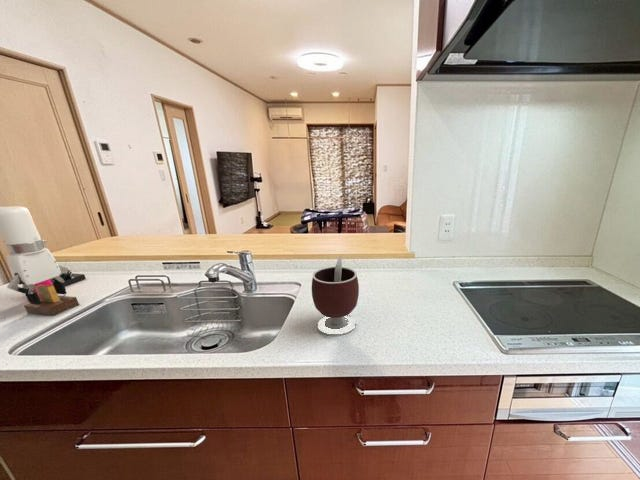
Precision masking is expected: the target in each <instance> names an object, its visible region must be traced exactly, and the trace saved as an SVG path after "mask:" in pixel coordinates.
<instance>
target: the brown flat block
mask: <svg viewBox="0 0 640 480" xmlns="http://www.w3.org/2000/svg"><path fill="white" fill-rule="evenodd" d="M58 297H59V299H60V301H57V302H55V303H52V302H41V304H39V305H37V304H31V303H30V302H28V303H27V304H24V305H23V307H24V308H25V311H26V313H27V314H28V315H39V316H50V317H54V316H57V315H59V314H62V313H63V312H66V311H68V310H70V309H73V308H75V307H77V306H80V303H79V301H78V297H76V296H68V295H67V294H62V295H58ZM40 301H41V300H40Z"/></svg>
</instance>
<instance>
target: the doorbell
mask: <svg viewBox="0 0 640 480" xmlns="http://www.w3.org/2000/svg"><path fill="white" fill-rule="evenodd" d="M86 279H87V278H86V276H85V274H84V273H72V270H71V269H68V272H67V274H66V277H65V279H64V283H63V284H64V286H65V288H66V287H68V286H71V285H73V284H77V283H79V282H82V281H84V280H86ZM50 280H51V279H50ZM51 282H52V283H54V281H52V280H51Z"/></svg>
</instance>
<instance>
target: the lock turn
mask: <svg viewBox="0 0 640 480" xmlns="http://www.w3.org/2000/svg"><path fill="white" fill-rule="evenodd" d="M35 289H36V291H37V293H38V295H39V298H40V300H41V302H52V303H55V302H57V301H60V299H59V297H58V296H59V294H57V292H56V290H55V288H54V286H53V285H38V286H35Z"/></svg>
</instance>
